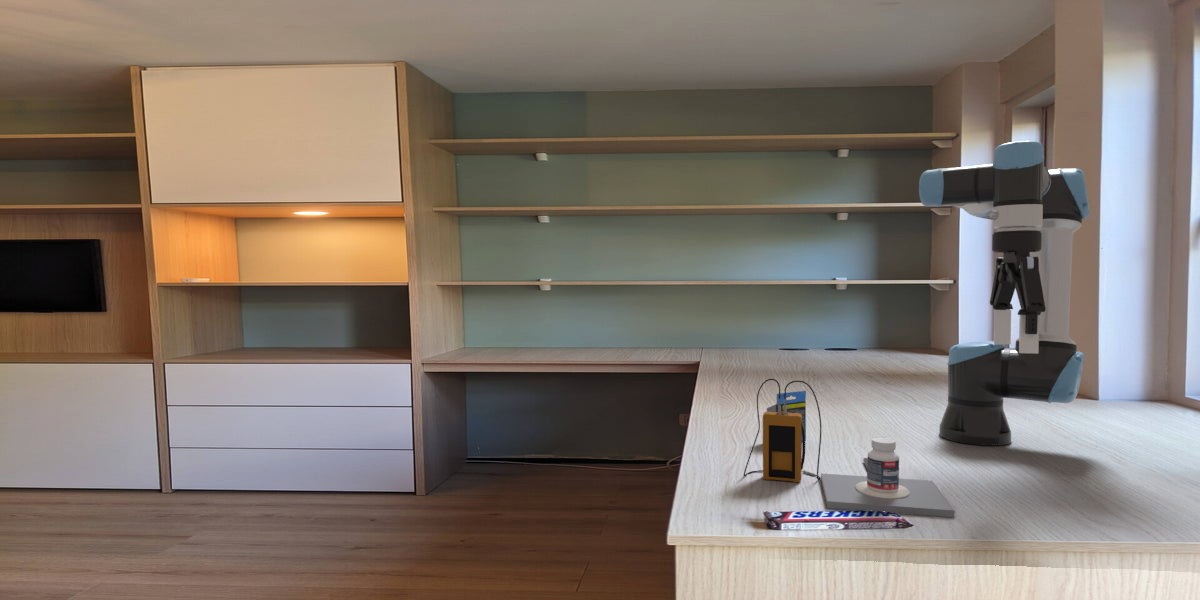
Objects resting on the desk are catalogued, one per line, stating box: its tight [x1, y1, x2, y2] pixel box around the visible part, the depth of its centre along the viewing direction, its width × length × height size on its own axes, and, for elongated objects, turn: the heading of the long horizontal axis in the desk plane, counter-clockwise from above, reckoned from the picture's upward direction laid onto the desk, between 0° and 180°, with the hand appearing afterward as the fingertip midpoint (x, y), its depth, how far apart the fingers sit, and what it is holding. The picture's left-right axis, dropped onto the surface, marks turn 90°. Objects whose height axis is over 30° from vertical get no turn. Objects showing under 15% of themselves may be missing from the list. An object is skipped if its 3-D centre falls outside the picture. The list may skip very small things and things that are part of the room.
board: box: [820, 457, 956, 519], centre depth 128 cm, size 30×20×2 cm, turn 166°
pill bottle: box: [866, 437, 900, 493], centre depth 121 cm, size 5×5×9 cm
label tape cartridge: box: [766, 390, 807, 443], centre depth 159 cm, size 9×4×12 cm, turn 114°
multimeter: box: [743, 378, 822, 483], centre depth 134 cm, size 15×10×20 cm
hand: (1014, 348), depth 121 cm, fingers open, 13 cm apart
